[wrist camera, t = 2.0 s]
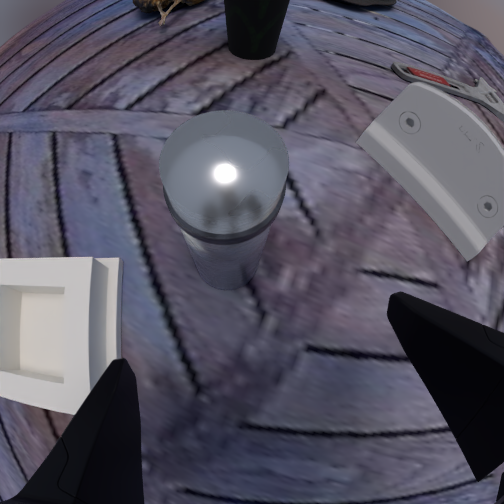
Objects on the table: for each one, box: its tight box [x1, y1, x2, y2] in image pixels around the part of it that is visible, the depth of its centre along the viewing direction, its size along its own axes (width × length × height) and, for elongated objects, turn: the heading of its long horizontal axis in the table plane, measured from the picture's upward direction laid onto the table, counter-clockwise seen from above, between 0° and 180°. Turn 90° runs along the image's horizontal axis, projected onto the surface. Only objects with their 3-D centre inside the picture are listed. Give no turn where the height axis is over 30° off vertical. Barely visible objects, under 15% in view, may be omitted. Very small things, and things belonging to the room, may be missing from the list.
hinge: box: [356, 82, 504, 261], centre depth 23 cm, size 17×5×10 cm, turn 42°
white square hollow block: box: [0, 257, 123, 415], centre depth 18 cm, size 12×12×4 cm
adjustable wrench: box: [391, 62, 504, 122], centre depth 33 cm, size 8×26×2 cm, turn 87°
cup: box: [224, 0, 290, 60], centre depth 25 cm, size 8×8×12 cm
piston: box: [159, 110, 289, 290], centre depth 17 cm, size 5×5×13 cm
